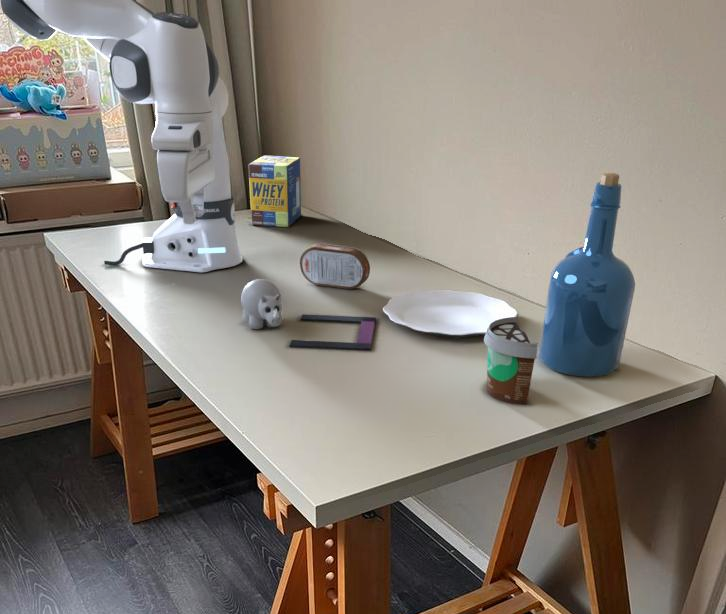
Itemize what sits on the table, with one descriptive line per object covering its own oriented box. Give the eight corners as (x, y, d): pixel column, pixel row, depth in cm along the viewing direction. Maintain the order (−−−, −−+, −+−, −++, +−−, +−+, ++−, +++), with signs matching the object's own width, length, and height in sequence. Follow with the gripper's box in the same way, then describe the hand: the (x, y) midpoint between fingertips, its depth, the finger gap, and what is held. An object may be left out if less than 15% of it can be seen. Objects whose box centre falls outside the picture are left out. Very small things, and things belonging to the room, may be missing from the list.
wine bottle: (630, 379, 125) (672, 182, 109) (550, 380, 124) (581, 182, 108) (601, 347, 137) (636, 166, 121) (527, 348, 136) (553, 165, 120)
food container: (471, 376, 125) (477, 316, 120) (509, 375, 125) (516, 315, 120) (488, 409, 114) (495, 345, 109) (529, 408, 115) (538, 344, 110)
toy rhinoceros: (256, 343, 135) (254, 295, 131) (238, 321, 145) (235, 276, 140) (295, 338, 138) (294, 291, 133) (275, 316, 147) (273, 272, 143)
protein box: (251, 225, 209) (247, 163, 201) (266, 213, 222) (263, 154, 214) (288, 227, 208) (286, 165, 200) (302, 215, 221) (300, 156, 213)
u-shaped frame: (289, 347, 134) (289, 344, 134) (302, 316, 148) (302, 314, 148) (370, 350, 133) (370, 348, 133) (375, 319, 147) (375, 317, 147)
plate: (442, 291, 163) (442, 282, 162) (542, 321, 148) (543, 312, 147) (356, 317, 148) (356, 308, 147) (458, 355, 132) (459, 344, 132)
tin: (370, 288, 163) (371, 247, 159) (365, 292, 161) (366, 251, 157) (304, 280, 168) (303, 240, 163) (298, 284, 165) (297, 244, 161)
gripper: (184, 122, 134) (192, 205, 141) (147, 139, 116) (158, 233, 124) (220, 123, 133) (226, 206, 141) (188, 140, 116) (197, 234, 123)
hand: (194, 219), depth 132 cm, fingers open, 4 cm apart
